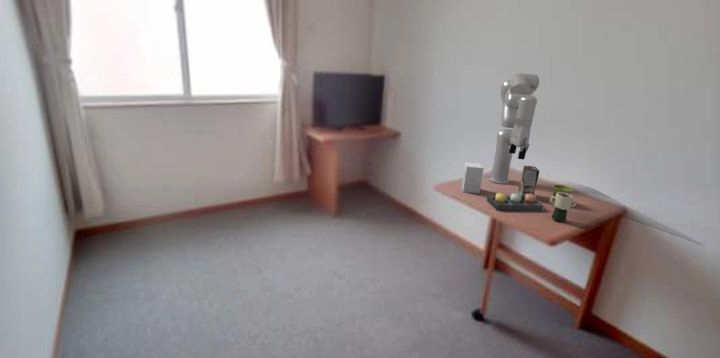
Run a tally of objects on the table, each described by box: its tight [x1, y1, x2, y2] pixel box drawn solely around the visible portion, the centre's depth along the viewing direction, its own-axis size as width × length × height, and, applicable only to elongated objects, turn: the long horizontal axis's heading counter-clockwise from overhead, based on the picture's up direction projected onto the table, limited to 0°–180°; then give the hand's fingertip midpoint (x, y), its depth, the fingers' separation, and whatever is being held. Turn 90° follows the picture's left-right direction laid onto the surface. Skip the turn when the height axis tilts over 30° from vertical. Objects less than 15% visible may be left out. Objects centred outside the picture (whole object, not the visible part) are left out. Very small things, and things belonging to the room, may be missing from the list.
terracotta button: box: [524, 193, 537, 203], centre depth 190 cm, size 5×5×4 cm
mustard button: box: [495, 192, 508, 203], centre depth 188 cm, size 5×5×4 cm
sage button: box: [510, 192, 522, 203], centre depth 189 cm, size 5×5×4 cm
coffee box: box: [517, 165, 540, 196], centre depth 203 cm, size 9×6×16 cm
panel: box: [486, 195, 544, 212], centre depth 190 cm, size 12×24×3 cm, turn 96°
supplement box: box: [461, 161, 484, 195], centre depth 206 cm, size 9×9×15 cm
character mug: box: [549, 192, 577, 223], centre depth 175 cm, size 11×7×13 cm, turn 71°
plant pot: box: [552, 184, 573, 201], centre depth 197 cm, size 9×9×9 cm
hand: (516, 156), depth 188 cm, fingers open, 9 cm apart
